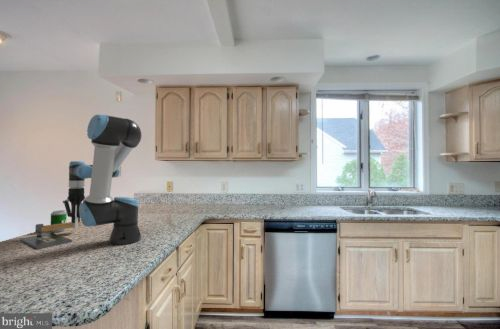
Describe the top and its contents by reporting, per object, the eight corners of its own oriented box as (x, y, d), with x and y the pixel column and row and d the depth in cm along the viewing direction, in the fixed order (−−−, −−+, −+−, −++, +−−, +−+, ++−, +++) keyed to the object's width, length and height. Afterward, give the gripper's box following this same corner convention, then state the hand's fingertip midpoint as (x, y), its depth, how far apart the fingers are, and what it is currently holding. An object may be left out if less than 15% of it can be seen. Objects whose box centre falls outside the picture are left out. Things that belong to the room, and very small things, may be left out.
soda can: (57, 233, 142) (57, 212, 142) (47, 232, 144) (47, 212, 144) (69, 230, 150) (69, 210, 150) (59, 229, 151) (59, 209, 151)
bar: (79, 225, 146) (79, 219, 146) (80, 226, 144) (80, 220, 144) (35, 231, 132) (35, 224, 132) (35, 233, 130) (35, 225, 130)
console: (71, 241, 127) (72, 235, 127) (37, 249, 115) (38, 242, 115) (52, 234, 139) (52, 229, 139) (20, 240, 127) (20, 234, 127)
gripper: (85, 186, 149) (84, 225, 149) (60, 188, 138) (59, 229, 138) (91, 187, 145) (90, 227, 145) (66, 188, 134) (65, 231, 134)
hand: (75, 228), depth 141 cm, fingers closed
